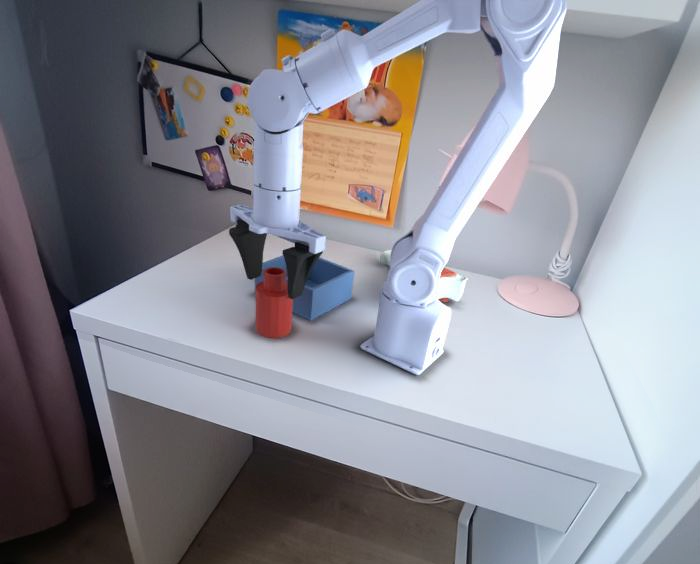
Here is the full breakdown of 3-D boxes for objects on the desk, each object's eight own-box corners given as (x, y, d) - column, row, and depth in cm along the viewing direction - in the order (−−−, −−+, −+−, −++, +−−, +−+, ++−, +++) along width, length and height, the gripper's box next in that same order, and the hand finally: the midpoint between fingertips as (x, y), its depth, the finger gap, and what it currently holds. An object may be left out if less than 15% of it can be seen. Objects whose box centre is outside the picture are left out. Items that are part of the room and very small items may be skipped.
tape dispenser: (382, 266, 96) (352, 300, 79) (385, 241, 93) (354, 270, 76) (469, 282, 91) (457, 321, 74) (475, 256, 89) (463, 290, 72)
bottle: (298, 329, 69) (301, 272, 64) (274, 342, 65) (276, 283, 60) (272, 316, 71) (273, 260, 66) (247, 328, 67) (247, 270, 62)
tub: (351, 298, 79) (354, 270, 76) (310, 321, 71) (313, 290, 68) (297, 276, 84) (299, 249, 81) (254, 294, 76) (254, 265, 73)
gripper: (210, 174, 57) (214, 277, 64) (302, 206, 51) (295, 315, 58) (252, 168, 62) (252, 263, 69) (340, 196, 56) (329, 297, 63)
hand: (274, 286), depth 64 cm, fingers open, 7 cm apart
